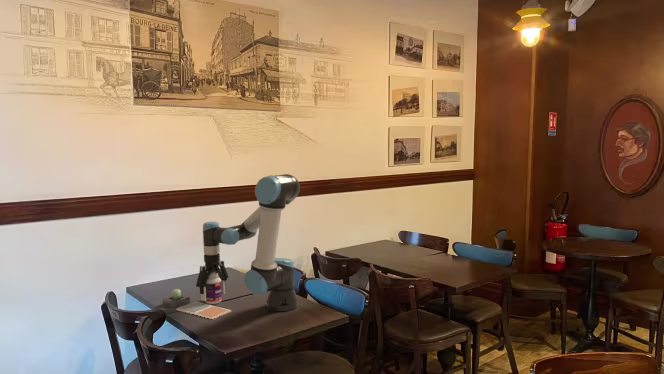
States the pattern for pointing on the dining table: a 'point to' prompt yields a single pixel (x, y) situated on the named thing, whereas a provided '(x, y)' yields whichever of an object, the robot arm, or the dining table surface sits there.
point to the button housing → (176, 301)
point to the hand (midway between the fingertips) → (213, 296)
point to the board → (203, 310)
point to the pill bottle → (213, 289)
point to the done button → (176, 294)
